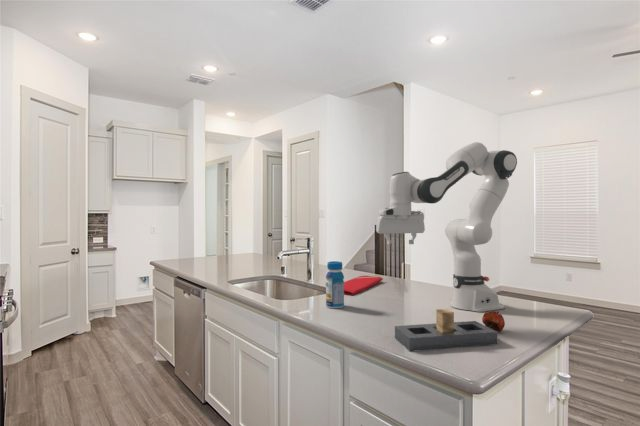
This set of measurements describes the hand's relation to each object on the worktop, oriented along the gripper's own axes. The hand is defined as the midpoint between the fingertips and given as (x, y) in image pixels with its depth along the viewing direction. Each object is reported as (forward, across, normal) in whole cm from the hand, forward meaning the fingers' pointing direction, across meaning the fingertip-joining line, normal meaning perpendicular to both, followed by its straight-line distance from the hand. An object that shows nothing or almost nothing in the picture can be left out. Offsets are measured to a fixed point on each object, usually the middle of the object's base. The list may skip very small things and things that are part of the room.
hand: (400, 244), depth 151 cm
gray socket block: (+29, -2, +32) cm, 43 cm away
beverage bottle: (+29, +24, -18) cm, 42 cm away
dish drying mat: (+30, +3, -57) cm, 64 cm away
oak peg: (+29, -2, +32) cm, 43 cm away
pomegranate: (+29, -24, +26) cm, 46 cm away
